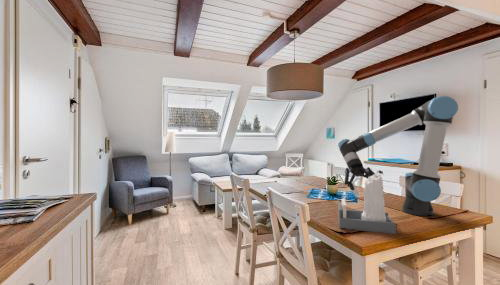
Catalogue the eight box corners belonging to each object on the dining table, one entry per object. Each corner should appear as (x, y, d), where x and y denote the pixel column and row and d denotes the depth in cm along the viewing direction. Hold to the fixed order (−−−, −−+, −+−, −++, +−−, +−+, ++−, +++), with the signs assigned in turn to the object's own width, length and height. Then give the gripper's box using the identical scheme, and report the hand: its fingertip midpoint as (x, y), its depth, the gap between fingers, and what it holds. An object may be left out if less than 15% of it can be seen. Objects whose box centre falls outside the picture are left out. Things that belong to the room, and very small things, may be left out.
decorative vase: (374, 229, 109) (374, 176, 109) (357, 222, 119) (356, 173, 119) (391, 226, 113) (391, 174, 113) (373, 219, 123) (372, 171, 123)
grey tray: (387, 222, 121) (387, 205, 121) (395, 234, 106) (395, 214, 106) (338, 217, 129) (338, 201, 129) (339, 228, 114) (339, 210, 113)
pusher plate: (344, 217, 126) (344, 198, 126) (346, 225, 114) (346, 205, 114) (340, 216, 127) (340, 198, 127) (341, 225, 115) (341, 204, 114)
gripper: (371, 165, 136) (389, 197, 122) (330, 166, 133) (343, 199, 119) (376, 157, 131) (396, 189, 116) (334, 158, 128) (349, 191, 113)
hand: (370, 194), depth 117 cm, fingers open, 13 cm apart
